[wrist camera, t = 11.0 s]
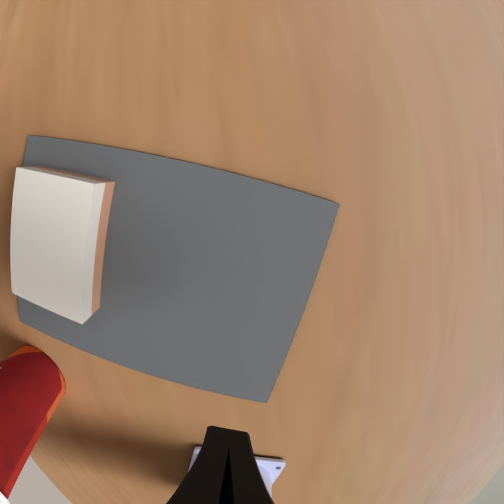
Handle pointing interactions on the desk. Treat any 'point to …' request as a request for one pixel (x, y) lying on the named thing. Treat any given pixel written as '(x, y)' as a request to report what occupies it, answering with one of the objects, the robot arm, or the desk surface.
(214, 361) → the mat
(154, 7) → the desk surface
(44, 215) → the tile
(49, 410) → the paper cup
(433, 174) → the desk surface
